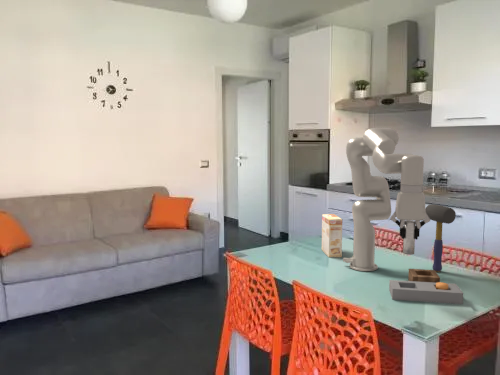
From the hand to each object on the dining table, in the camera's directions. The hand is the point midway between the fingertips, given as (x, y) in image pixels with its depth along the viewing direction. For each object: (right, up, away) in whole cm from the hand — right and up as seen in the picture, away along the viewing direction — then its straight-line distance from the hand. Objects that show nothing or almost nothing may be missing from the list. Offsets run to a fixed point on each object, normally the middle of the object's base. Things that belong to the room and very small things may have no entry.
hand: (409, 237), depth 159 cm
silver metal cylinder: (0, -6, +1) cm, 6 cm away
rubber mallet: (+25, -19, +34) cm, 46 cm away
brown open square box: (+11, -22, +14) cm, 28 cm away
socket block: (+6, -23, +1) cm, 24 cm away
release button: (+12, -22, 0) cm, 25 cm away
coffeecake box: (-17, -16, +65) cm, 69 cm away
